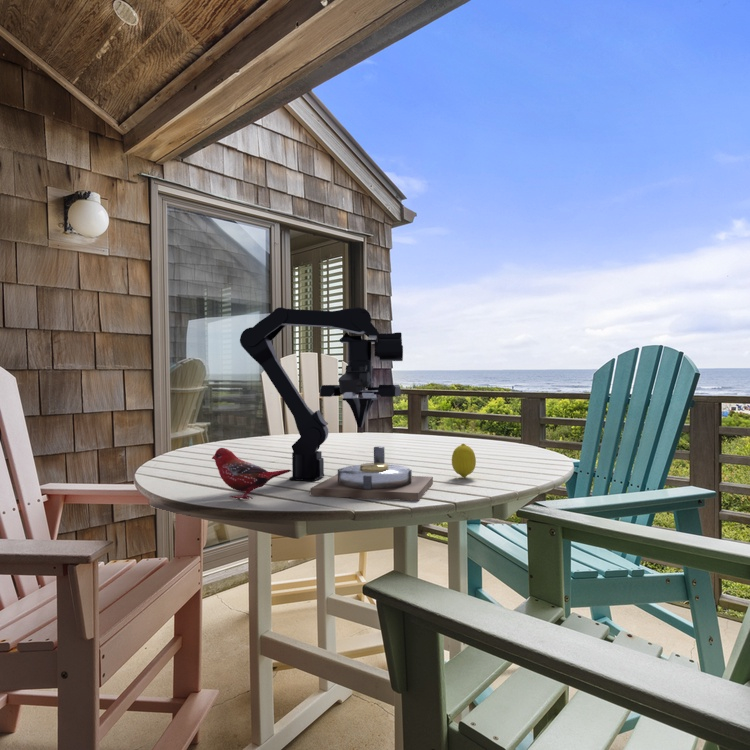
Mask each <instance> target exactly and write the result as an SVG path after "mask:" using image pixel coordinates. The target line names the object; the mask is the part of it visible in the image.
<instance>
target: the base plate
mask: <svg viewBox="0 0 750 750" xmlns="http://www.w3.org/2000/svg"><path fill="white" fill-rule="evenodd" d="M433 484H434V477H433V476H427V475H426V476H424V475H422V476H421V475H412V482H411V483H409V484H407V485H404V486H401V487H395V488H386V489H358V488H350V487H346V486H342V485H340V484H339V482H338V473H337V474H335V475H333V476H331V477H329V478H327V479H325V480H323V481H320V482H319V483H317V484H316V485H314V486H312V487H310V488H309V489H310V492H309V493H310V496H311V495H313V496H314V497H332V498H333V497H335V498H349V497H351V498H352V499H369V498H379V499H378V500H389V499H400V500H399V501H409V500H412V502H419V501H420V500H421V499H422V498H423V497H424V495H425V494H426V493H427V491H429V489H430V488H431V487H432V485H433ZM429 487H430V488H429ZM425 492H426V493H425ZM424 493H425V494H424ZM313 496H312V497H313ZM420 498H421V499H420Z"/></svg>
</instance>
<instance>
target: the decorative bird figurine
mask: <svg viewBox="0 0 750 750" xmlns="http://www.w3.org/2000/svg"><path fill="white" fill-rule="evenodd" d="M211 460H214V461H215V462H214V463H215V465H216V467H217V470H218V473H219V476H220V478H221V480H222V481H223V482H224V483H225V485H227V486H228V487H229V488H231V489H233V490H235V491H238V492H242V494H241V495H235V496H234V495H229V498H234V499H236V498H243V499H242V500H250V499H254V498H252V497H251V496H250V495H249V494H250V493H251V492H252V491H254V490H255V489H258V488H262V487H264V486H265V485H266V484H267V483H268V482H269V481H270V480H272V479H273V478H274V479H275V478H276V477H278V476H279V477H280V476H282V475H284V474H287V473H290V472H292V469H283V470H274V471H268V470H266V469H264V468H262V467H261V466H259V465H256V464H254V463H251V462H248V461H245V460H242V459H241V458H239V457H238V456H237V455H236V454H234V453H233V452H232V450H229V449H227V448H225V447H219V448H218V449H217V450H216V451H215V453H214V455H213V456H212V457H211ZM243 492H244V493H243Z"/></svg>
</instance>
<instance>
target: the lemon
mask: <svg viewBox="0 0 750 750" xmlns="http://www.w3.org/2000/svg"><path fill="white" fill-rule="evenodd" d="M476 458H477V457H476V455H475V451H474V450H473V449H472V448H471V447H470V446H469V445H467V444H465V443H461V445H458V446H457V447H455V448H454V450H453V452H452V455H451V466H452V469H453V471H454V472H455V473H456V474H458V475H459V476H461V477H462V478H463V479H466V477H468V475H471V474H472V473H473V472H474V470H475V469H476V466H477V464H476V463H477V461H476V460H477V459H476Z"/></svg>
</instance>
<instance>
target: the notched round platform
mask: <svg viewBox="0 0 750 750" xmlns="http://www.w3.org/2000/svg"><path fill="white" fill-rule="evenodd" d="M385 453H386V452H385V446H374V447H373V462H366V463H361V464H355V465H350V466H345V467H344V466H343V467H341V468H338V469H337V474H338V482H339V484H340V485H342V486H346V487H350V488H358V489H386V488H395V487H401V486H404V485H407V484H409V483H411V482H412V476H413V474H412V473H413V471H412V469H410V468H409V467H407V466H405V465H400V464H399V465H398V464H390V463H389V464H388V463H386V461H385V460H386V458H385Z"/></svg>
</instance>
